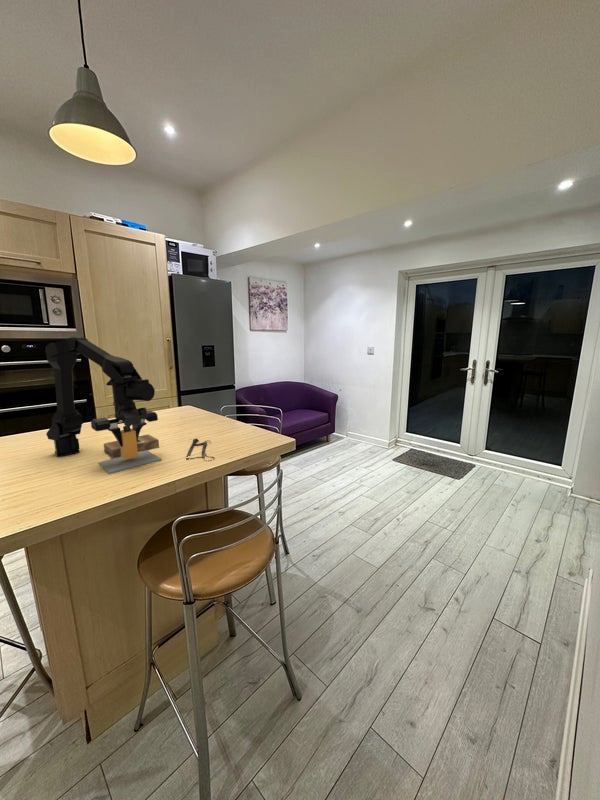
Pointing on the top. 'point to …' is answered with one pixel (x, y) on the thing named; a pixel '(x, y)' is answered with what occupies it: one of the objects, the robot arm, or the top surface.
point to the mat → (128, 462)
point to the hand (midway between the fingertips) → (128, 444)
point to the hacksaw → (202, 449)
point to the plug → (128, 443)
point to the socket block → (142, 444)
